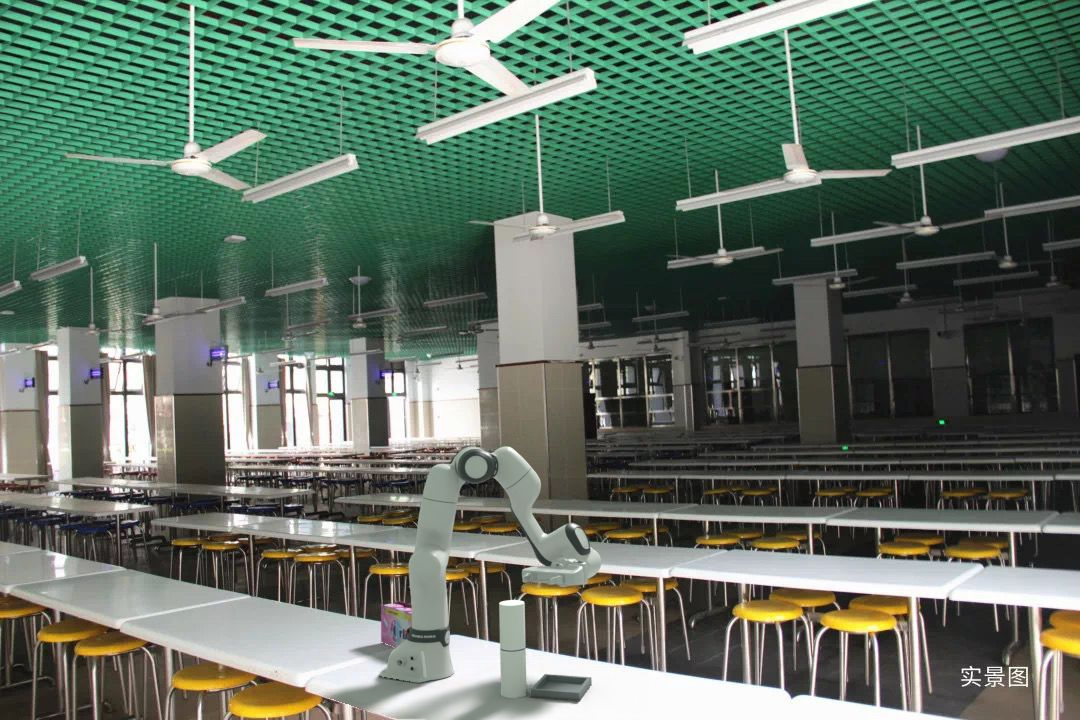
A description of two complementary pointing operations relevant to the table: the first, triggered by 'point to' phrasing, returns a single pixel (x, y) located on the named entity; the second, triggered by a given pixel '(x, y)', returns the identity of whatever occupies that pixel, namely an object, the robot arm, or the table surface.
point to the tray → (561, 687)
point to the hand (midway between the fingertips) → (536, 580)
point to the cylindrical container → (512, 648)
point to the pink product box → (395, 622)
